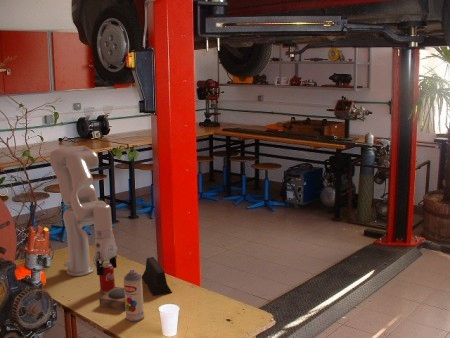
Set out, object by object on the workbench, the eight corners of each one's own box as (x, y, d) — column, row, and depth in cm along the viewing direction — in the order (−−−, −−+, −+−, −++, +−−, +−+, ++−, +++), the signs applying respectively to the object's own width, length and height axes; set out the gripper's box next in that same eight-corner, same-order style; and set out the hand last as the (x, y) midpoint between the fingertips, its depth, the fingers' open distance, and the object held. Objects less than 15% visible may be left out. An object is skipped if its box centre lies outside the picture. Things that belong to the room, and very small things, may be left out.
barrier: (141, 277, 257) (139, 257, 255) (159, 274, 260) (158, 254, 258) (153, 297, 235) (151, 274, 233) (172, 293, 238) (171, 271, 236)
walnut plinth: (99, 307, 226) (99, 297, 226) (115, 295, 237) (115, 285, 237) (125, 311, 222) (124, 300, 221) (140, 299, 233) (139, 289, 232)
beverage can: (111, 294, 239) (109, 268, 236) (98, 293, 240) (96, 267, 238) (117, 288, 245) (115, 262, 242) (104, 287, 246) (102, 262, 244)
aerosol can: (123, 320, 214) (119, 271, 210) (132, 313, 220) (129, 265, 216) (138, 323, 212) (135, 273, 208) (147, 315, 218) (144, 267, 214)
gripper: (99, 239, 228) (103, 279, 231) (122, 228, 244) (125, 265, 246) (84, 238, 231) (88, 277, 233) (107, 227, 246) (110, 264, 249)
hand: (107, 271), depth 240 cm, fingers open, 9 cm apart
